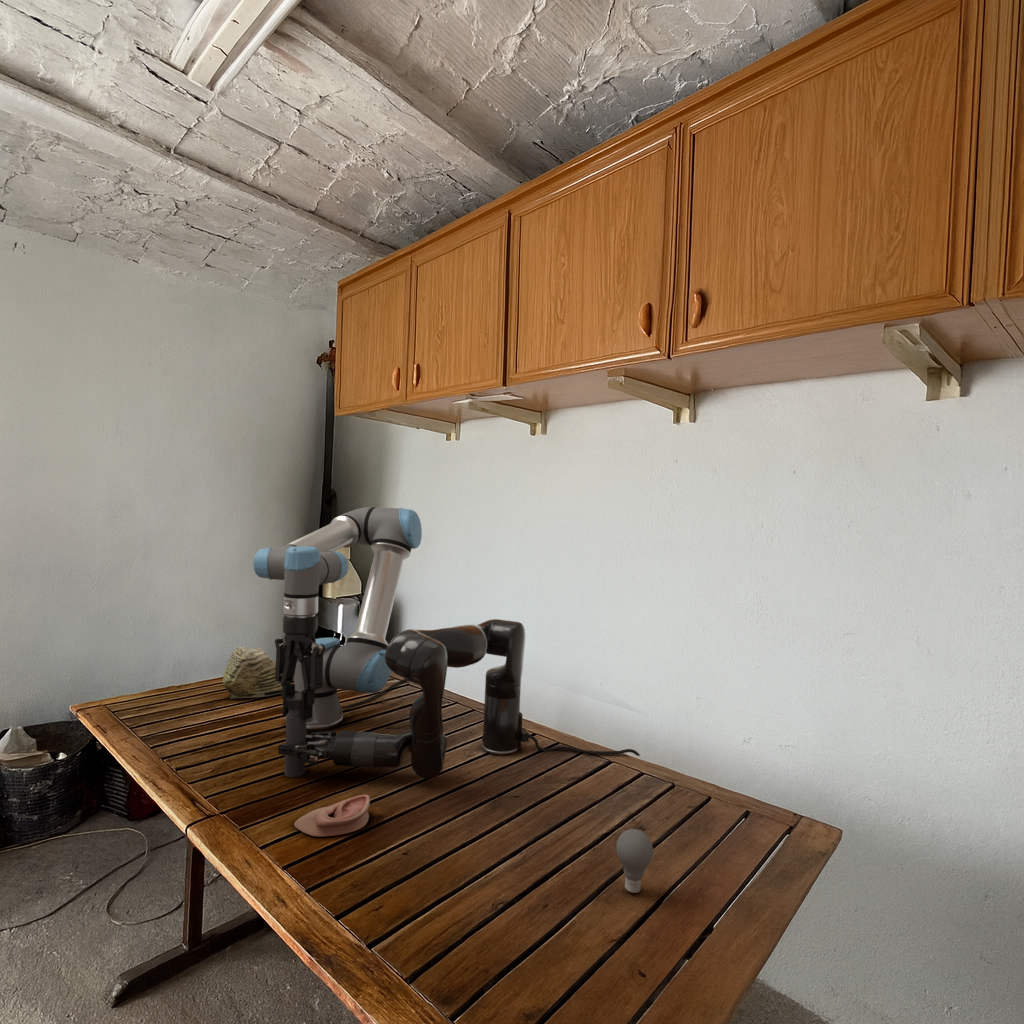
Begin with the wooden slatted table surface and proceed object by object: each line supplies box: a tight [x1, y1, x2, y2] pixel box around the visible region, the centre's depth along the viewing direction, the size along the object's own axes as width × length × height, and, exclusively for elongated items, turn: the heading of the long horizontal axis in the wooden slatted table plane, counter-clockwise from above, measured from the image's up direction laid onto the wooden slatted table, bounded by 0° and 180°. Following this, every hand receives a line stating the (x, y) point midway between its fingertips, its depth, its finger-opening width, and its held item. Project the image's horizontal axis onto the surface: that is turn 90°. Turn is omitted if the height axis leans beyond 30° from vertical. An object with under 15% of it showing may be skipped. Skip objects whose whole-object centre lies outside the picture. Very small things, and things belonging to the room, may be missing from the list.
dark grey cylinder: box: [283, 709, 307, 778], centre depth 144 cm, size 4×4×16 cm
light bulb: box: [615, 828, 654, 894], centre depth 106 cm, size 6×6×10 cm
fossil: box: [222, 646, 282, 699], centre depth 198 cm, size 9×18×15 cm, turn 132°
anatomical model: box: [293, 794, 371, 837], centre depth 123 cm, size 13×4×12 cm
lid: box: [286, 693, 302, 710], centre depth 144 cm, size 5×5×2 cm
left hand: (297, 715), depth 144 cm, fingers closed on lid, 5 cm apart
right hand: (284, 744), depth 144 cm, fingers closed on dark grey cylinder, 4 cm apart
